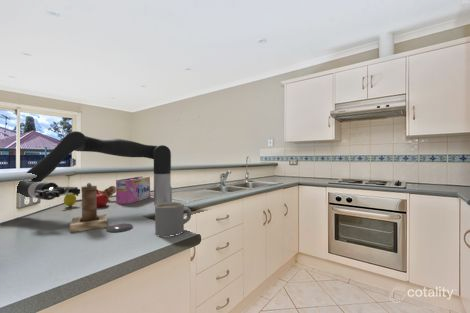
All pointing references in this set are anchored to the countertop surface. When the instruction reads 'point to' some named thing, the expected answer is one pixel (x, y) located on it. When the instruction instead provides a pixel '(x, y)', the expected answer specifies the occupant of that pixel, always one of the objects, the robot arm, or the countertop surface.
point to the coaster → (119, 227)
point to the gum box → (132, 190)
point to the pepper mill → (89, 203)
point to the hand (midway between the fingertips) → (69, 193)
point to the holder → (88, 223)
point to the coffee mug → (170, 218)
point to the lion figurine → (109, 191)
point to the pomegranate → (101, 199)
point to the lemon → (70, 199)
